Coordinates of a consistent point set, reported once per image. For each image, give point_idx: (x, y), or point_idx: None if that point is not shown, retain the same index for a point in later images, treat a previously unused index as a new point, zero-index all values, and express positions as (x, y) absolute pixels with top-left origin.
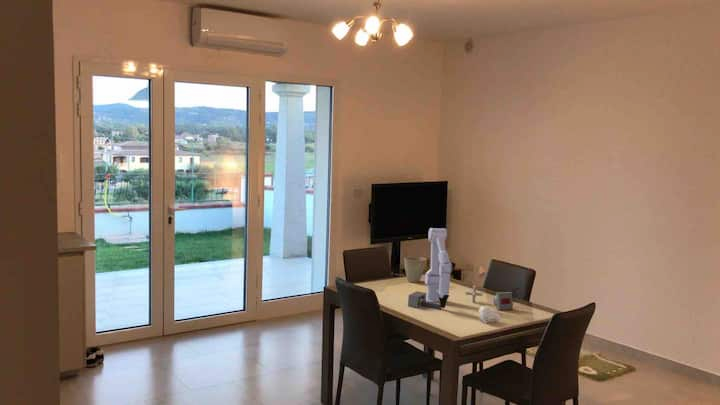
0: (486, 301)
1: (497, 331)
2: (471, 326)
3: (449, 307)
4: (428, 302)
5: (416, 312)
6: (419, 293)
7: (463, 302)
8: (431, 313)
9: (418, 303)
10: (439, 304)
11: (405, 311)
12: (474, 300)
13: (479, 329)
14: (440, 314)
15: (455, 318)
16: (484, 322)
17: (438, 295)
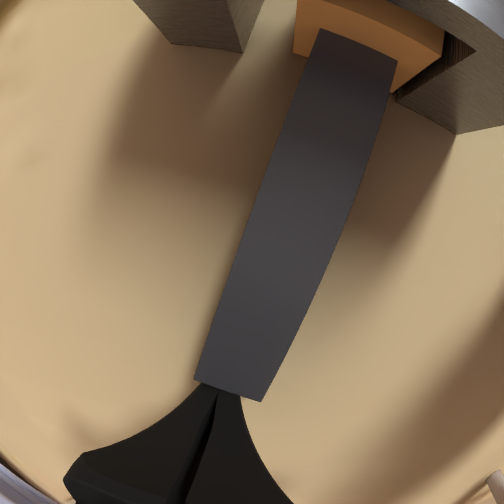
0: (490, 496)
1: (32, 484)
2: (5, 438)
3: (359, 426)
4: (318, 169)
5: (14, 104)
6: None
7: (499, 448)
8: (28, 252)
9: (174, 17)
10: (247, 375)
11: (30, 19)
12: (490, 488)
13: (3, 447)
14: (46, 337)
15: (41, 418)
16: (73, 499)
17: (71, 481)
